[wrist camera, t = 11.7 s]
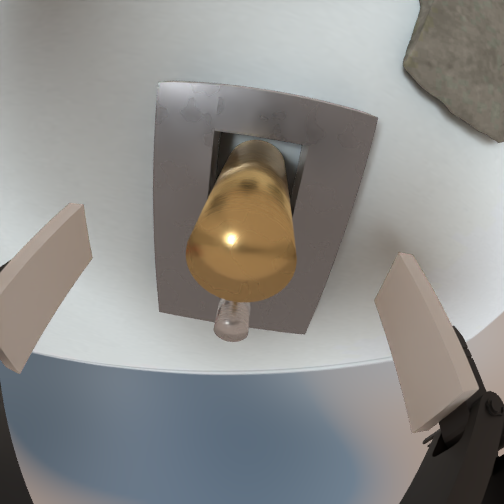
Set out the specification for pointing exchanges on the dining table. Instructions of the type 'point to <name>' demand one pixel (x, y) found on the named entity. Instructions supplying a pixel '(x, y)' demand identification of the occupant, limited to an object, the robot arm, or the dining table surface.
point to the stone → (462, 59)
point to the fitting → (245, 228)
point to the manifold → (302, 199)
